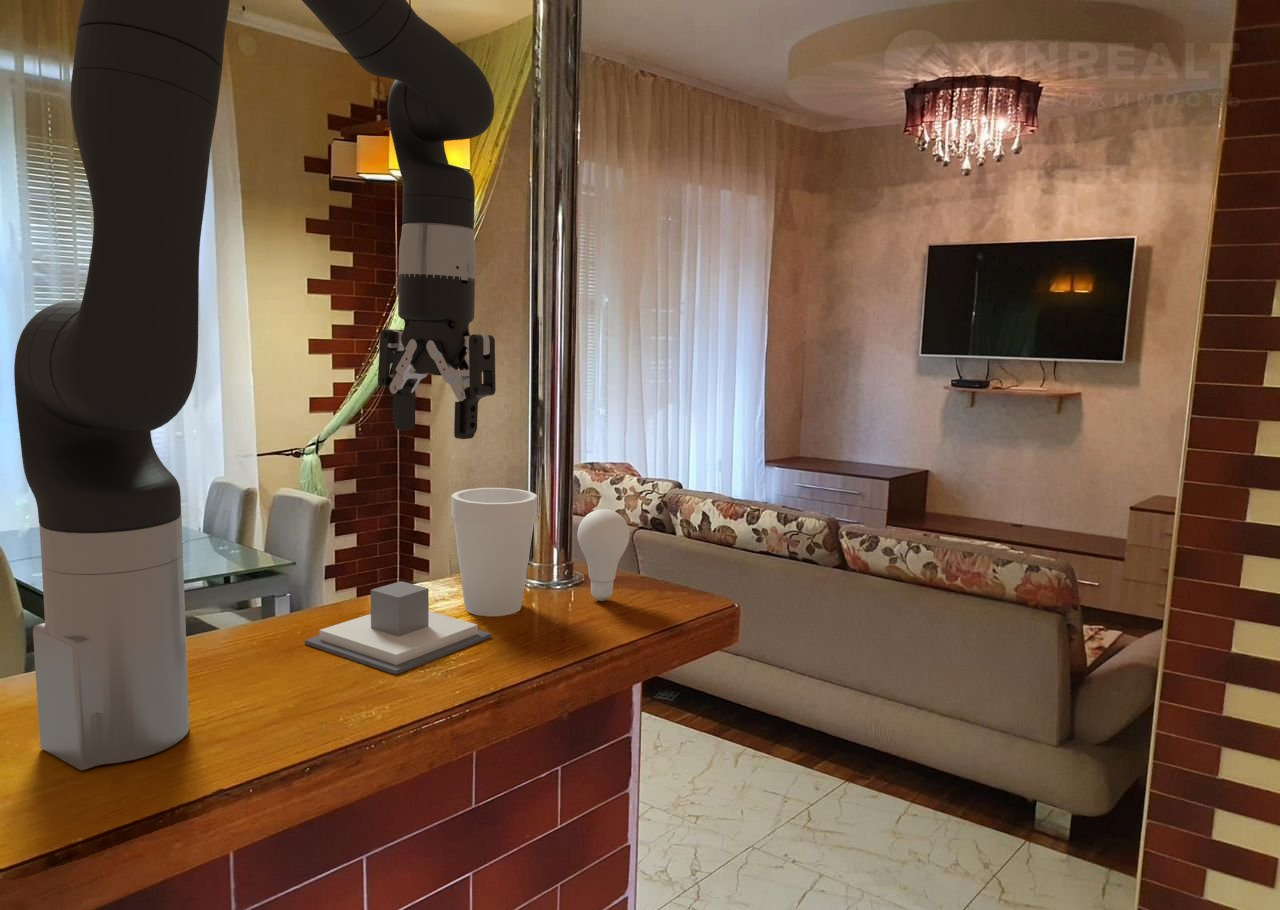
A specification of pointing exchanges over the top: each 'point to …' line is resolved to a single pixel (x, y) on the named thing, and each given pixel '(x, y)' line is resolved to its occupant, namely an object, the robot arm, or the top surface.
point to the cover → (398, 626)
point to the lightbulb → (603, 548)
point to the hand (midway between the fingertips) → (433, 434)
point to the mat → (402, 666)
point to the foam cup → (493, 546)
